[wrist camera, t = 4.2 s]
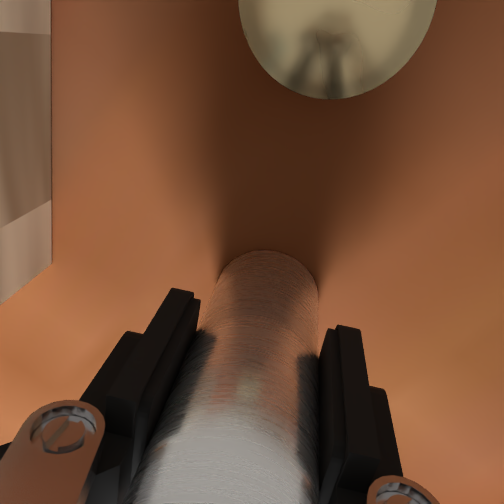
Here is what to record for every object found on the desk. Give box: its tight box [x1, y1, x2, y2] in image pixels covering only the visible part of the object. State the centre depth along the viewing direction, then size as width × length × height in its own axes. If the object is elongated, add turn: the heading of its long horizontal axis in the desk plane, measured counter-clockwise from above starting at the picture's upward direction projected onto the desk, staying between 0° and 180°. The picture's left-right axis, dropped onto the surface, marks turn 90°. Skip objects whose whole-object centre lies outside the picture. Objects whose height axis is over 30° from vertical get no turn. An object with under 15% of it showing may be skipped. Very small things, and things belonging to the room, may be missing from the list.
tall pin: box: [122, 250, 320, 504], centre depth 10 cm, size 3×3×10 cm
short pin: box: [239, 0, 437, 99], centre depth 9 cm, size 3×3×4 cm
